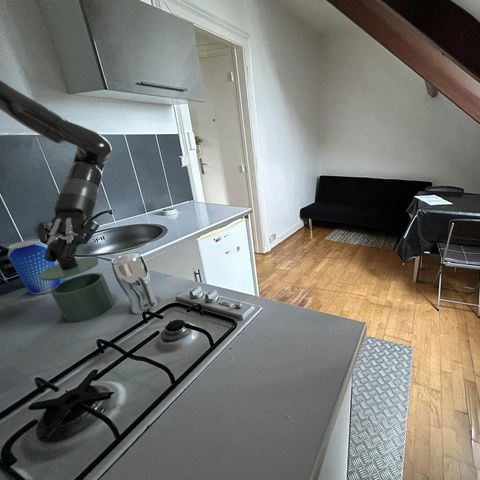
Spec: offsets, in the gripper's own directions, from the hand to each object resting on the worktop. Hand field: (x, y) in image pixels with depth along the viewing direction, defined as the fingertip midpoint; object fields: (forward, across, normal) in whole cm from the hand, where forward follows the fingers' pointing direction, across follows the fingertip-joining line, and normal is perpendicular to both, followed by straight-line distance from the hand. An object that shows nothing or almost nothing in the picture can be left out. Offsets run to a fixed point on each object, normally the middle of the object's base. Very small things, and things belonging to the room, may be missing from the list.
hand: (58, 260), depth 63 cm
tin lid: (+1, 0, +4) cm, 4 cm away
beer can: (+1, -23, +22) cm, 32 cm away
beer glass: (+11, +15, +12) cm, 22 cm away
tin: (+10, 0, +13) cm, 16 cm away
